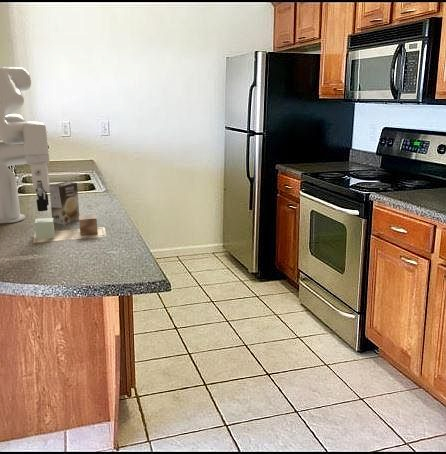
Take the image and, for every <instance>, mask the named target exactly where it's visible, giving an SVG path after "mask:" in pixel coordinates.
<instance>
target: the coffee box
mask: <svg viewBox="0 0 446 454" xmlns="http://www.w3.org/2000/svg"><path fill="white" fill-rule="evenodd" d="M49 197H50V210H51V211H50V212H51V218H53V221H54V224H59V225H67V224H71V223H73V222H76V221H77V222H79V216H81V215H80V205H79V192H78V182H72V181H64V182H60V183H59V182H58V183H53V184H50V191H49Z"/></svg>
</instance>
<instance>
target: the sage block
mask: <svg viewBox="0 0 446 454" xmlns="http://www.w3.org/2000/svg"><path fill="white" fill-rule="evenodd" d="M34 220H35V221H34V230H35V232H34V233H36V240H38V239H50V238H54V236H55V231H56V230H55V223H54V221H53V218H52V217H45V218H35V219H34Z"/></svg>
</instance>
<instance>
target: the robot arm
mask: <svg viewBox="0 0 446 454" xmlns="http://www.w3.org/2000/svg"><path fill="white" fill-rule="evenodd" d="M31 84H32V80H31V75H30V74H29V72H28V70H27V69H25V68H23V67H20V66H0V140H1V141H0V224H10V223H11V224H12V223H16V222H17V223H18V222H20V221H21V222H22V221H23V220H25V218H26V216H25V214H23V213H21V209H20V201H19V192H18V191H19V190H18V183H17V177H16V174H15V173H14V172H13V171H12V170H11V169H10V168H9V167H11V166H19V165H25V164H26V165H28V166H29V165H30V173H31V180H32V187H33V191H34V193H35V194H36V208H37V212H47V211H49V210H48V209H49V208H48V206H49V195H48V193H49V194H50V185H51V184H50V176H49V168H48V164H50V152H49V143H48V137H47V136H48V135H47V127H46V124H45V123H43V122H39V121H32V120H31V121H25V118H24V117H23V116H22V115H21V114H18V113H14V112H16V111H18V110H20V109H21V108H22V107H23V105H24V103H25V99H24V95H23V94H22V92H21V91H28V90H29V89H30V88H31Z"/></svg>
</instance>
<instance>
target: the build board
mask: <svg viewBox="0 0 446 454" xmlns="http://www.w3.org/2000/svg"><path fill="white" fill-rule="evenodd" d="M54 231H55V236H54V238H50V239H38V240H36V232H34V235H33V241H32V243H33V244H36V243H48V242H56V241H57V242H59V241H71V240H78V239H79V240H81V239H93V238H94V239H95V238H105V237H106V238H107V232H106V228H105V227H104V226H103V227H102V226H100V227H97V231H98V235H86V236H81V234H80V228H77V229H65V230H64V229H63V230H54Z"/></svg>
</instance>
